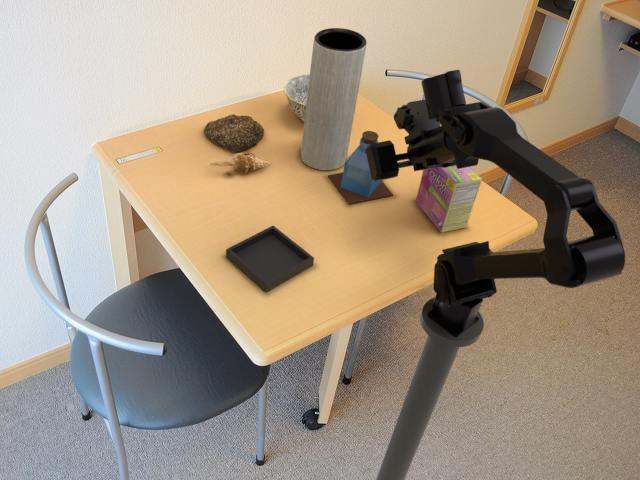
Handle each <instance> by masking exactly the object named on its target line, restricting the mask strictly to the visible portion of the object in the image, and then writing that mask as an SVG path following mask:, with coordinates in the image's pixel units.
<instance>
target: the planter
mask: <svg viewBox="0 0 640 480" xmlns="http://www.w3.org/2000/svg"><path fill="white" fill-rule="evenodd" d="M367 44H368V42H367V39H366V37H365V36H364V35H362V33H359V32H358V31H355V30H353V29H349V28H343V27H331V28H324V29H322V30H319V31H318V32H317V33H315V35H314V37H313V45H312V52H311V53H312V54H311V62H310V70H309V74H310V77H309V86H308V94H307V103H306V111H305V119H304V122H303V129H302V137H301V146H300V159H301V161H302V162H303V164H305V165H307V166H308V167H310V168H311V169H315V170H320V171H334V170H337V169H339V168H341V167H344V164H345V162H346V160H347V157H348V152H349V145H350V140H351V135H352V130H353V123H354V119H355V114H356V107H357V102H358V95H359V89H360V85H361V78H362V73H363V67H364V63H365V56H366V51H367Z"/></svg>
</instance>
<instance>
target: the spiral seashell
mask: <svg viewBox="0 0 640 480" xmlns="http://www.w3.org/2000/svg"><path fill="white" fill-rule="evenodd" d="M272 164H273V163H272V162H268V161H267V160H262V159H261V158H257V157H256V155H255V153H252V152H251V151H247V152H238V153H235V154H233V155H232V156H231V158H230V159H228V160H223V161H222V160H221V161H213V162H209V163H208V164H207V167H216V166H217V167H234V168H236V169H237V171H239V172H240V173H241V174H243V175H246V174H248V172H249V171H250V172H254V171H255V170H259V169H260V168H263V167H267V166H270V165H272ZM226 175H227V176H228V177H229V176H230V175H231V173H230V172H229V171H227V172H226Z"/></svg>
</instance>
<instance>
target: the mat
mask: <svg viewBox="0 0 640 480" xmlns="http://www.w3.org/2000/svg"><path fill="white" fill-rule="evenodd" d="M342 176H343V172H339V173H333V174H328V175H327V178H328V179H329V181H330V182H331V183H332V184H333V186H334V187H335V188H336V190H337V191H338V193H340V195H341V196H342V198H343V199H344V200H345V202H346V203H347V204H348V205H349V206H350V205H355V204H362V203H365V202H371V201H376V200H381V199H386V198H389V197H393V196H394V194H393V192H392V191H391V190H390V189H389V188H388V186H387V185H386V184H385V183H384V182H383V180H381V181H380V184H379V185H378V186H377V187H376V189H375V190H374V191H373V193H372V194H371V195H370V196H369V198H367V197H364V196H362V195H359V194H356V193H354V192H351V191H348V190H346V189H343V188H341V182H342Z"/></svg>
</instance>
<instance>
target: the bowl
mask: <svg viewBox="0 0 640 480" xmlns="http://www.w3.org/2000/svg"><path fill="white" fill-rule="evenodd" d="M309 77H310V73H304V74H299V75H296V76H293V77H291V78H289V79H288V80H287V81H286V82H285V83H284V85H283V90H284V94H285V96H286V99H287V102H288V106H289V108H290V110H291V111H292V112H293V114H294V115H295V116H297V117H298V118H299V119H300V120H301V121H302V122H303V123H304V119H305V111H306V103H307V94H308V86H309Z"/></svg>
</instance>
